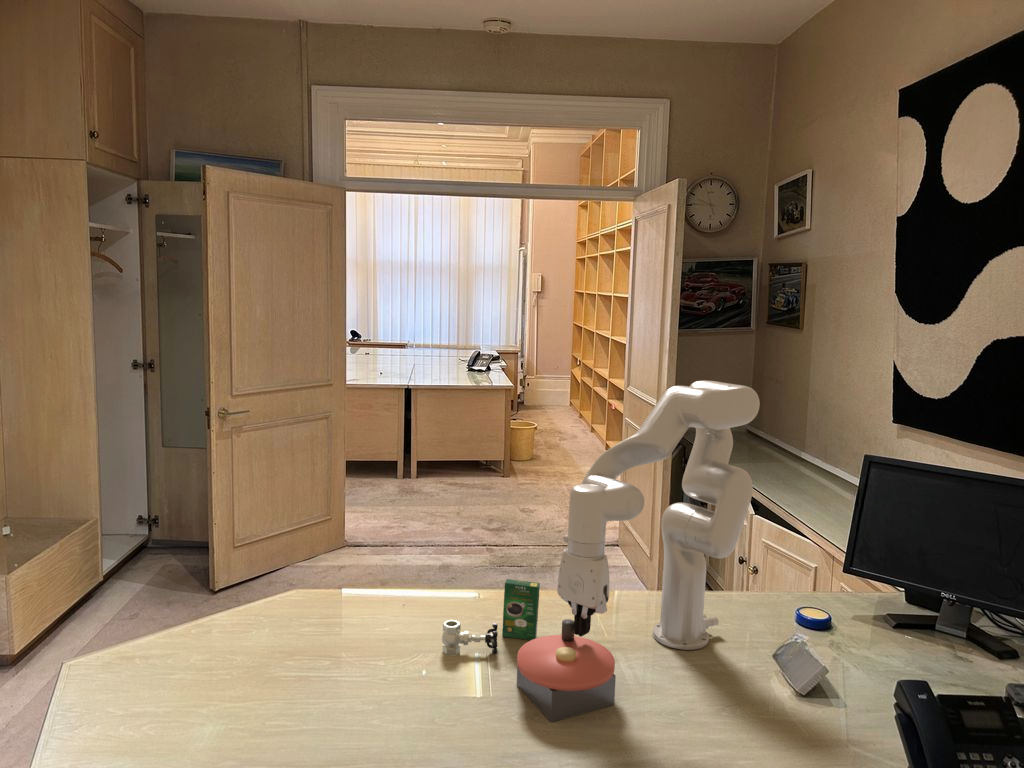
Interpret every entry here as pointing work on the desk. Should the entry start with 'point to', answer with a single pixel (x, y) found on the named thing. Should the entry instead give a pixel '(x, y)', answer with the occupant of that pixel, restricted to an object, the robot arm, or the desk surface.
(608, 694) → the block
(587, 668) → the handwheel
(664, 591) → the robot arm
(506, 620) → the coffee box
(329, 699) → the desk surface
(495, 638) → the valve
